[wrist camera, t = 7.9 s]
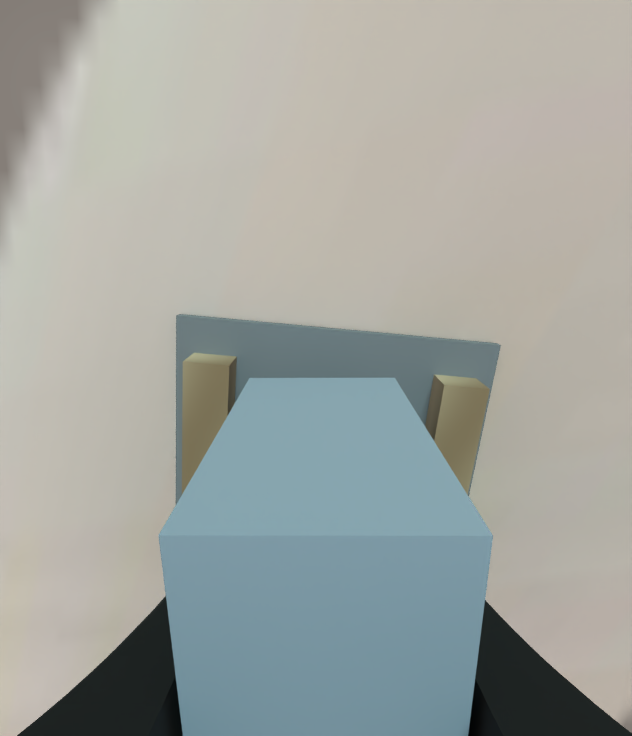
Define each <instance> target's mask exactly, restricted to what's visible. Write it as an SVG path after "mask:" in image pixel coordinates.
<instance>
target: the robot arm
mask: <svg viewBox="0 0 632 736" xmlns="http://www.w3.org/2000/svg"><path fill="white" fill-rule="evenodd" d="M17 736H183V733H182V724H181V716H180V708H179V700H178V691H177V683H176V675H175V667H174V658H173V650H172V642H171V634H170V625H169V617H168V609H167V601H166V596H165V597H164V599H163V600H162V601H161V602H160V603H159V604H158V605H157V606H156V608H155V609H154V610H153V611H152V612H151V613H150V614H149V615H148V616H147V617H146V618H145V619H144V620H143V621H142V622H141V623H140V624H139V625H138V626H137V628H136V629H135V630H134V631H133V632H132V633H131V634H130V635H129V636H128V637H127V638H126V639H125V640H124V641H123V642H122V643H121V644H120V645H119V646H118V647H117V648H116V649H115V650H114V651H113V652H112V653H111V654H110V655H109V656H108V657H107V658H106V659H105V660H104V661H103V662H102V663H101V664H99V665H98V666H97V667H96V668H95V669H94V670H93V671H92V672H91V673H90V674H89V675H88V676H87V677H85V678H84V679H83V680H82V681H81V682H80V683H79V684H78V685H77V686H75V687H74V688H73V689H72V690H71V691H70V692H69V693H68V694H67V695H65V696H64V697H63V698H62V699H61V700H60V701H58V702H57V703H56V704H55V705H54V706H53V707H51V708H50V709H49V710H48V711H47V712H45V713H44V714H43V715H42V716H41V717H39V718H38V719H37V720H36V721H35V722H33V723H32V724H31V725H30V726H28V727H27V728H26V729H25V730H23V731H22V732H21V733H20V734H18V735H17ZM468 736H632V733H631V732H629V731H628V730H627V729H625V728H624V727H623V726H621V725H620V724H619V723H618V722H616V721H615V720H614V719H613V718H612V717H610V716H609V715H608V714H607V713H605V712H604V711H603V710H602V709H600V708H599V707H598V706H597V705H596V704H594V703H593V702H592V701H591V700H590V699H589V698H587V697H586V696H585V695H584V694H583V693H582V692H580V691H579V690H578V689H577V688H576V687H575V686H574V685H572V684H571V683H570V682H569V681H568V680H567V679H565V678H564V677H563V676H562V675H561V674H560V673H559V672H557V671H556V670H555V669H554V668H553V667H552V666H551V665H550V664H549V663H547V662H546V661H545V660H544V659H543V658H542V657H541V656H540V655H539V654H538V653H537V652H536V651H535V650H534V649H533V648H532V647H530V646H529V645H528V644H527V643H526V642H525V641H524V640H523V639H522V638H521V637H520V636H519V635H518V634H517V633H516V632H515V631H514V630H513V629H512V628H511V627H510V626H509V625H508V624H507V623H506V622H505V621H504V620H503V619H502V618H501V617H500V615H499V614H498V613H497V612H496V611H495V610H494V609H493V608H492V607H491V606H490V605H489V604H488V603H487V602H486V600H485V604H484V612H483V620H482V628H481V636H480V644H479V652H478V660H477V668H476V676H475V684H474V692H473V700H472V708H471V716H470V724H469V732H468Z"/></svg>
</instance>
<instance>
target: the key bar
mask: <svg viewBox="0 0 632 736" xmlns="http://www.w3.org/2000/svg"><path fill="white" fill-rule="evenodd" d="M492 539H493V535H492V534H491V532H490V530H489V529H488V527H487V526H486V524H485V522H484V521H483V519H482V517H481V516H480V514H479V513H478V511H477V509H476V508H475V506H474V505H473V503H472V501H471V500H470V498H469V497H468V495H467V493H466V492H465V490H464V488H463V487H462V485H461V484H460V482H459V480H458V479H457V477H456V476H455V474H454V472H453V471H452V469H451V468H450V466H449V464H448V463H447V461H446V459H445V458H444V456H443V455H442V453H441V451H440V450H439V448H438V447H437V445H436V443H435V442H434V440H433V439H432V437H431V435H430V434H429V432H428V431H427V429H426V427H425V426H424V424H423V422H422V421H421V419H420V418H419V416H418V414H417V413H416V411H415V410H414V408H413V406H412V405H411V403H410V402H409V400H408V398H407V397H406V395H405V393H404V392H403V390H402V389H401V387H400V385H399V384H398V382H397V381H396V379H395V378H249V380H248V382H247V383H246V385H245V387H244V388H243V390H242V392H241V394H240V395H239V397H238V399H237V401H236V402H235V404H234V406H233V407H232V409H231V411H230V413H229V414H228V416H227V418H226V420H225V421H224V423H223V425H222V427H221V428H220V430H219V432H218V433H217V435H216V437H215V439H214V440H213V442H212V444H211V446H210V447H209V449H208V451H207V452H206V454H205V456H204V458H203V459H202V461H201V463H200V465H199V466H198V468H197V470H196V472H195V473H194V475H193V477H192V478H191V480H190V482H189V484H188V485H187V487H186V489H185V491H184V492H183V494H182V496H181V498H180V499H179V501H178V503H177V504H176V506H175V508H174V510H173V511H172V513H171V515H170V517H169V518H168V520H167V522H166V523H165V525H164V527H163V529H162V530H161V532H160V534H159V543H160V551H161V559H162V568H163V576H164V584H165V592H166V601H167V609H168V617H169V625H170V634H171V642H172V650H173V658H174V667H175V675H176V683H177V691H178V700H179V708H180V716H181V724H182V733H183V736H468V732H469V724H470V716H471V708H472V700H473V692H474V684H475V676H476V668H477V660H478V652H479V644H480V636H481V628H482V620H483V612H484V604H485V596H486V587H487V579H488V571H489V563H490V555H491V547H492Z"/></svg>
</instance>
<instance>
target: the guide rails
mask: <svg viewBox="0 0 632 736" xmlns="http://www.w3.org/2000/svg"><path fill="white" fill-rule="evenodd" d="M236 364H237V357H236V356H225V355H214V354H203V353H193V354H192V355H191V356H189V357H188V358H187V359H185V360H184V361H183V397H182V494H183V492H184V491H185V489H186V487H187V485H188V484H189V482H190V480H191V478H192V477H193V475H194V473H195V472H196V470H197V468H198V466H199V465H200V463H201V461H202V459H203V458H204V456H205V454H206V452H207V451H208V449H209V447H210V446H211V444H212V442H213V440H214V439H215V437H216V435H217V433H218V432H219V430H220V428H221V427H222V425H223V423H224V421H225V420H226V418H227V416H228V414H229V413H230V411H231V409H232V407H233V406H234V404H235V387H236ZM489 391H490V389H489V388H488V387H487V386H485V385H484V384H483V383H481V382H480V381H479V380H478V379H476V378H468V377H457V376H446V375H435V374H434V378H433V383H432V389H431V395H430V401H429V407H428V412H427V418H426V424H425V427H426V429H427V431H428V432H429V434H430V435H431V437H432V439H433V440H434V442H435V443H436V445H437V447H438V448H439V450H440V451H441V453H442V455H443V456H444V458H445V459H446V461H447V463H448V464H449V466H450V468H451V469H452V471H453V472H454V474H455V476H456V477H457V479H458V480H459V482H460V484H461V485H462V487H463V488H464V490H465V492H466V493H467V495H468V491H469V486H470V481H471V476H472V472H473V467H474V462H475V458H476V453H477V448H478V443H479V439H480V434H481V429H482V424H483V420H484V415H485V410H486V406H487V401H488V396H489Z"/></svg>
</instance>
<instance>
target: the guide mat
mask: <svg viewBox="0 0 632 736" xmlns="http://www.w3.org/2000/svg"><path fill="white" fill-rule="evenodd" d="M500 346H501V345H499V344H497V343H488V342H477V341H466V340H455V339H444V338H433V337H422V336H412V335H401V334H390V333H379V332H368V331H357V330H346V329H335V328H324V327H314V326H303V325H292V324H281V323H270V322H259V321H248V320H237V319H226V318H216V317H205V316H194V315H183V314H179V315H177V316H176V504H177V503H178V501H179V499H180V498H181V496H182V397H183V361H184V360H185V359H187V358H188V357H189V356H191V355H192V354H193V353H203V354H214V355H225V356H236V357H237V364H236V387H235V402H236V401H237V399H238V397H239V395H240V394H241V392H242V390H243V388H244V387H245V385H246V383H247V382H248V380H249V378H395V379H396V381H397V382H398V384H399V385H400V387H401V389H402V390H403V392H404V393H405V395H406V397H407V398H408V400H409V402H410V403H411V405H412V406H413V408H414V410H415V411H416V413H417V414H418V416H419V418H420V419H421V421H422V422H423V424H424V426H425V424H426V418H427V412H428V407H429V401H430V395H431V389H432V383H433V378H434V374H435V375H446V376H457V377H468V378H476V379H478V380H479V381H480V382H481V383H483V384H484V385H485V386H487V387H488V388H489V389H490V391H489V396H488V401H487V406H486V410H485V415H484V420H483V424H482V429H481V434H480V439H479V443H478V448H477V453H476V458H475V462H474V467H473V472H472V476H471V481H470V486H469V491H468V497H469V492H470V487H471V483H472V478H473V473H474V468H475V464H476V459H477V454H478V450H479V445H480V440H481V435H482V431H483V426H484V421H485V417H486V412H487V407H488V403H489V398H490V393H491V388H492V384H493V379H494V374H495V370H496V365H497V360H498V355H499V351H500Z"/></svg>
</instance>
